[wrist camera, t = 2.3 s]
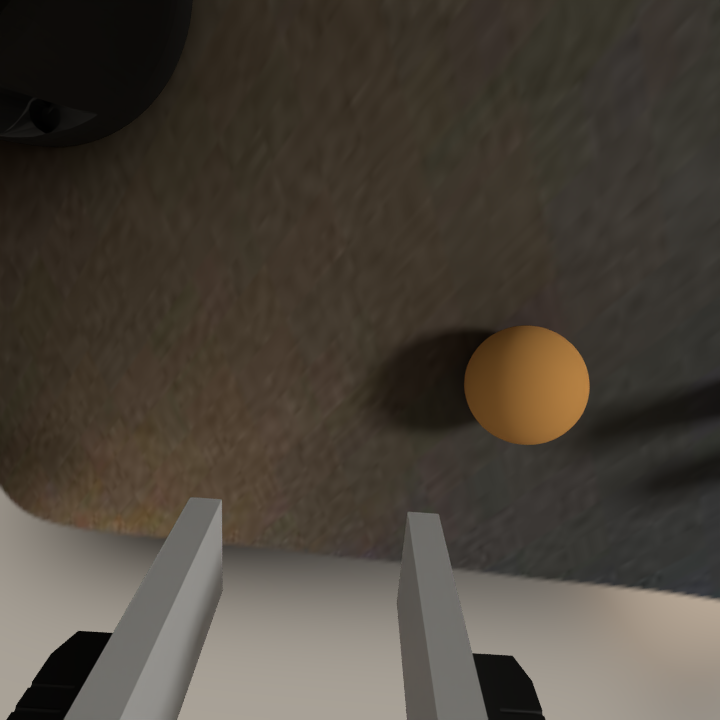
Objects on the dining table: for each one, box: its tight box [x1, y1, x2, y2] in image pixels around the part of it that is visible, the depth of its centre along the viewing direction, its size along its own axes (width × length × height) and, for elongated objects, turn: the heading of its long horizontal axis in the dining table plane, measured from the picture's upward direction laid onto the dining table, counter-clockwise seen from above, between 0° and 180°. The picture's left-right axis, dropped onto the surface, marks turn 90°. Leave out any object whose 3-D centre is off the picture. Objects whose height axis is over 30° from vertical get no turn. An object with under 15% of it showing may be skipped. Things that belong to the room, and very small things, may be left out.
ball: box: [464, 326, 589, 445], centre depth 26 cm, size 6×6×6 cm
